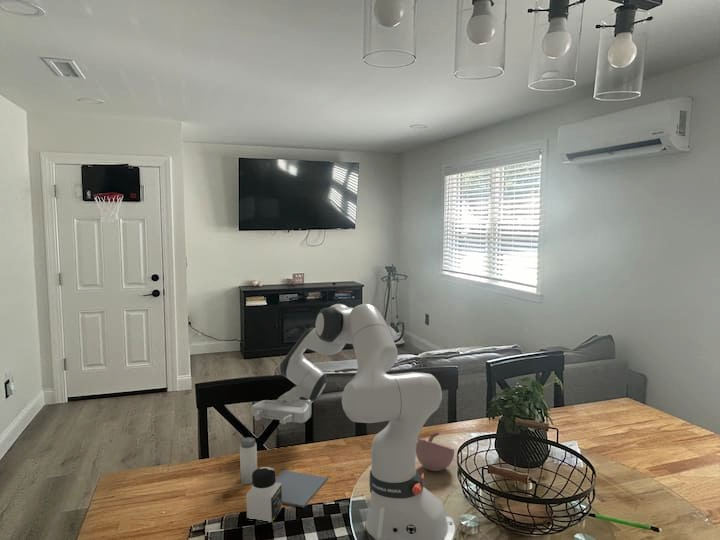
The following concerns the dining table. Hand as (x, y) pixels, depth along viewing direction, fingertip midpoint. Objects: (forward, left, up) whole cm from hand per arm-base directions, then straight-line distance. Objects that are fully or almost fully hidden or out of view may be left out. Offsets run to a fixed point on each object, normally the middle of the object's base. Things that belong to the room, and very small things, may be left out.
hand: (268, 419), depth 156 cm
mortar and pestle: (-52, -13, -14) cm, 56 cm away
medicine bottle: (-14, +26, -14) cm, 33 cm away
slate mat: (-15, +12, -14) cm, 24 cm away
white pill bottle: (0, +12, -14) cm, 19 cm away
